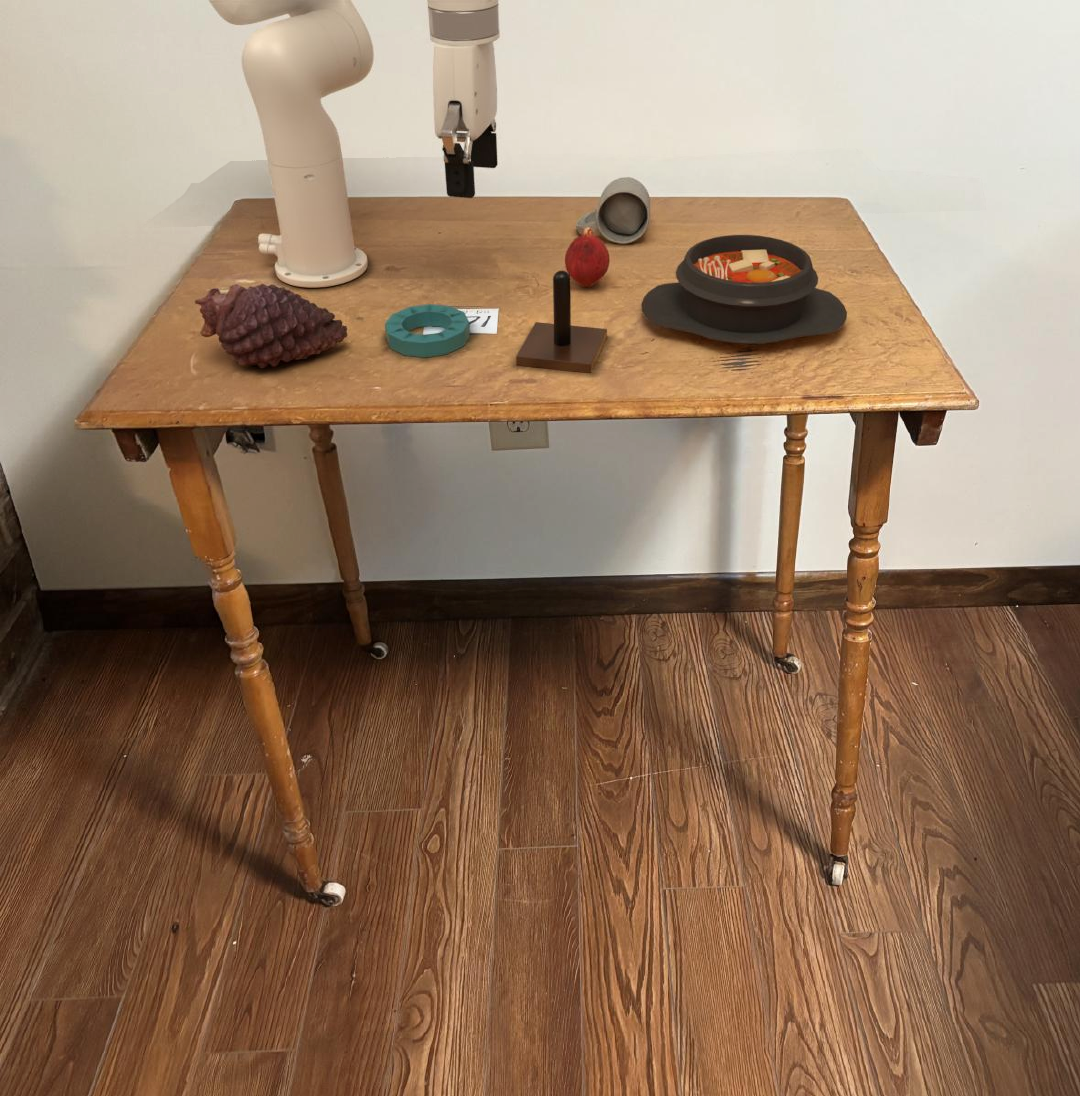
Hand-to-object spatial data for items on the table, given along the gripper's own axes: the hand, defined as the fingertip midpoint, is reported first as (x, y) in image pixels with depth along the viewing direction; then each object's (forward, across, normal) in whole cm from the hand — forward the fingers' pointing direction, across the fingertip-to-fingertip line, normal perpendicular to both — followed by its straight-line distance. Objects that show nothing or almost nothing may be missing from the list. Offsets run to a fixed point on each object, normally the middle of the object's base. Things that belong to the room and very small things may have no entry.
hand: (473, 181), depth 128 cm
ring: (+17, +6, -5) cm, 19 cm away
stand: (+17, +7, +12) cm, 22 cm away
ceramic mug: (+18, -29, +12) cm, 36 cm away
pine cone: (+18, +15, -21) cm, 31 cm away
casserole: (+17, -5, +32) cm, 37 cm away
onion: (+18, -11, +12) cm, 24 cm away
